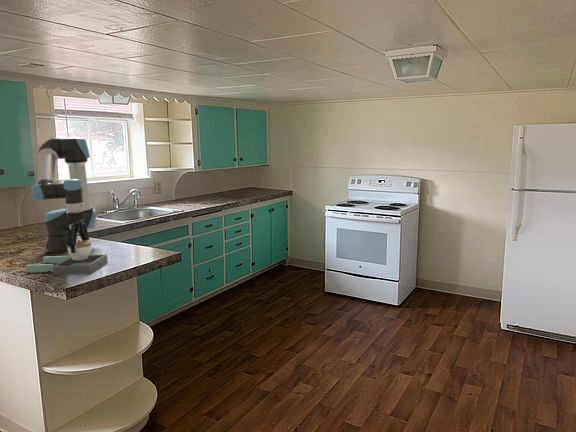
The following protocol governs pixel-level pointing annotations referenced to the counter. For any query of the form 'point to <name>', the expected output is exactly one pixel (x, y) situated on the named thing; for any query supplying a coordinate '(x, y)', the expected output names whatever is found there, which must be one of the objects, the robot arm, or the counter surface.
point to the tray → (80, 265)
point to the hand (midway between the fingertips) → (80, 256)
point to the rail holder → (46, 266)
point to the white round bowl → (81, 250)
